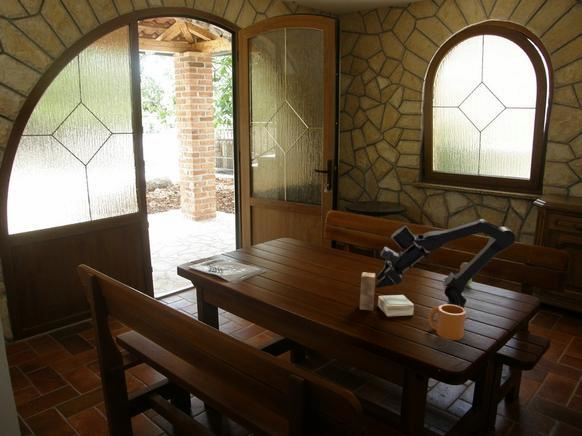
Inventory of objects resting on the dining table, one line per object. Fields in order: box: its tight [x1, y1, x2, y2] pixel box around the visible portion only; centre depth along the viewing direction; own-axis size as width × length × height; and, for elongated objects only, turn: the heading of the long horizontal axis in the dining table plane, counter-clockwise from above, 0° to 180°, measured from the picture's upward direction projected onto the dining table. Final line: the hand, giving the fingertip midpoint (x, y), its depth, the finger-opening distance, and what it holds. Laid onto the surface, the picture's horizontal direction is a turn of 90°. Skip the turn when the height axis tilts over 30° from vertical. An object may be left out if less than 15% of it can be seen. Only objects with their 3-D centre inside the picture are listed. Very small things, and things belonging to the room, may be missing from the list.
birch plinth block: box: [377, 294, 415, 317], centre depth 179 cm, size 10×10×4 cm
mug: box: [427, 303, 467, 341], centre depth 161 cm, size 9×12×9 cm
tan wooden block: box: [359, 271, 376, 312], centre depth 180 cm, size 5×5×13 cm
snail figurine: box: [460, 262, 473, 287], centre depth 207 cm, size 5×6×12 cm
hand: (376, 282), depth 179 cm, fingers open, 9 cm apart
